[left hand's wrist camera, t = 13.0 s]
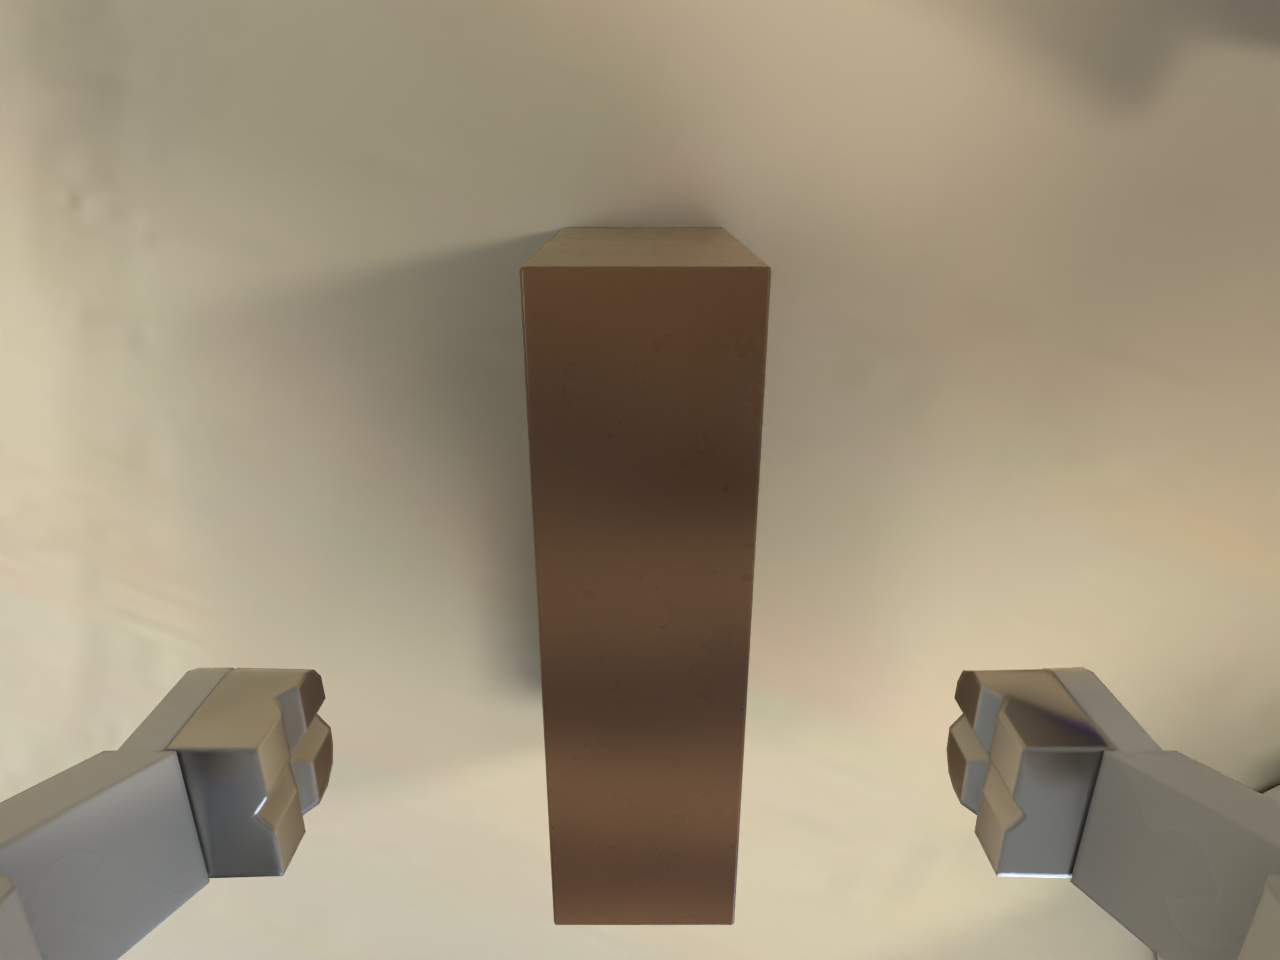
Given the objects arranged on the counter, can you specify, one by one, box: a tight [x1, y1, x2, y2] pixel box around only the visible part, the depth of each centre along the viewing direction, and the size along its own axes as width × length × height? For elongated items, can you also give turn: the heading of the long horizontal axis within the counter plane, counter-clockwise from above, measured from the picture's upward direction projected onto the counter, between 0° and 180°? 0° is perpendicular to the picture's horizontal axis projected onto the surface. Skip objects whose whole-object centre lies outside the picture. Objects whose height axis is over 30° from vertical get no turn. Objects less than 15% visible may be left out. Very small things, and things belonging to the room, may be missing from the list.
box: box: [520, 228, 771, 925], centre depth 28 cm, size 21×6×12 cm, turn 0°
